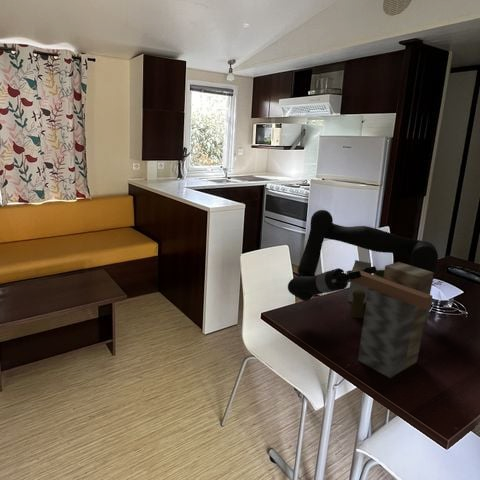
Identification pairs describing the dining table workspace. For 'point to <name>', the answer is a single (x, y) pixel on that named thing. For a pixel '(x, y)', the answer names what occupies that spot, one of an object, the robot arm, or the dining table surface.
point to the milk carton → (356, 286)
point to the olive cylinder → (357, 304)
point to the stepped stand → (394, 323)
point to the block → (394, 290)
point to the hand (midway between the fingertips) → (368, 271)
